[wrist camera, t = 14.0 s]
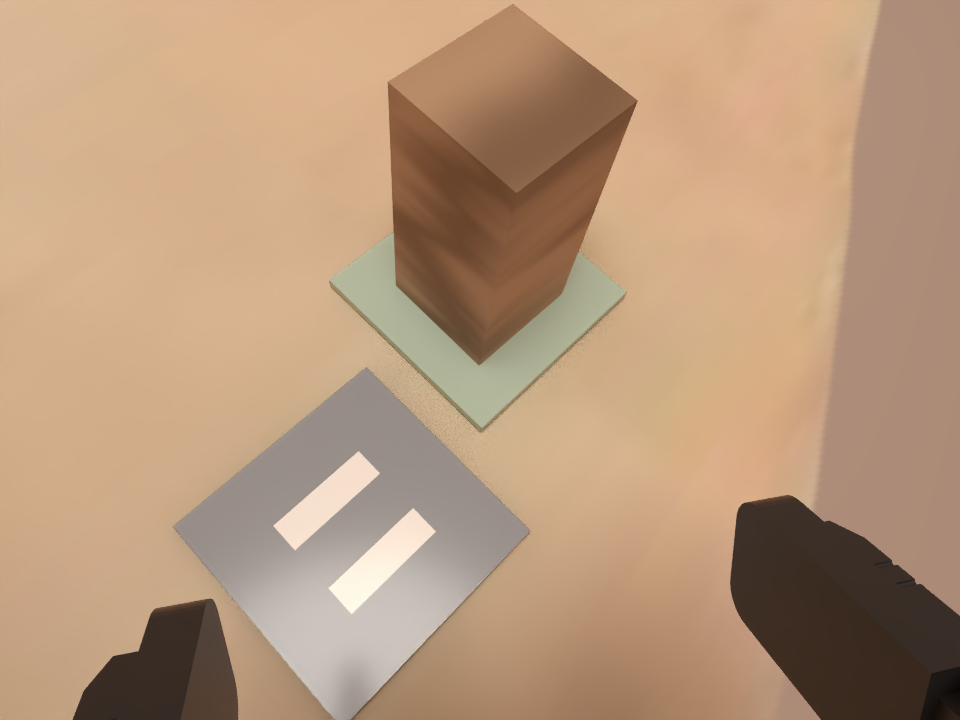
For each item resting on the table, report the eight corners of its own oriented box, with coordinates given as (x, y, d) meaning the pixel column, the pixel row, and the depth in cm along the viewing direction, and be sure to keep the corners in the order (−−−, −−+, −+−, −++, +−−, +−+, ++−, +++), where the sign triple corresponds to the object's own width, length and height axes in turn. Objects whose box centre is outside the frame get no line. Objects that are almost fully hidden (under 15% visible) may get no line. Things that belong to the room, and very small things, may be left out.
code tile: (176, 529, 25) (172, 526, 24) (366, 371, 28) (366, 367, 28) (342, 728, 23) (341, 728, 22) (528, 532, 26) (530, 530, 25)
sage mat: (330, 286, 29) (329, 280, 29) (478, 174, 33) (479, 167, 32) (480, 432, 27) (481, 428, 27) (623, 297, 30) (626, 291, 30)
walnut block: (395, 285, 29) (387, 81, 19) (480, 221, 31) (512, 3, 21) (479, 365, 28) (516, 193, 18) (561, 293, 30) (637, 100, 20)
